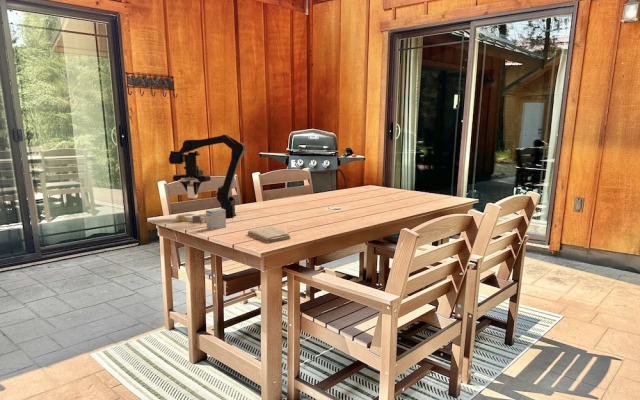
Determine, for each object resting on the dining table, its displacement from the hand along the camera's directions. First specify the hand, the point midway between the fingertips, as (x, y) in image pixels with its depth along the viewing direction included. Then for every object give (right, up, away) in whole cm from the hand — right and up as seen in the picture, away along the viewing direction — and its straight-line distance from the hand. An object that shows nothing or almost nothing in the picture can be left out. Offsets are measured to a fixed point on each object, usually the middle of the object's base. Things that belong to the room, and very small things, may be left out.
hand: (192, 194), depth 217 cm
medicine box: (+18, -16, -23) cm, 33 cm away
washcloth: (+44, -19, -38) cm, 61 cm away
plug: (0, -2, 0) cm, 2 cm away
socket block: (+3, -13, -4) cm, 14 cm away
